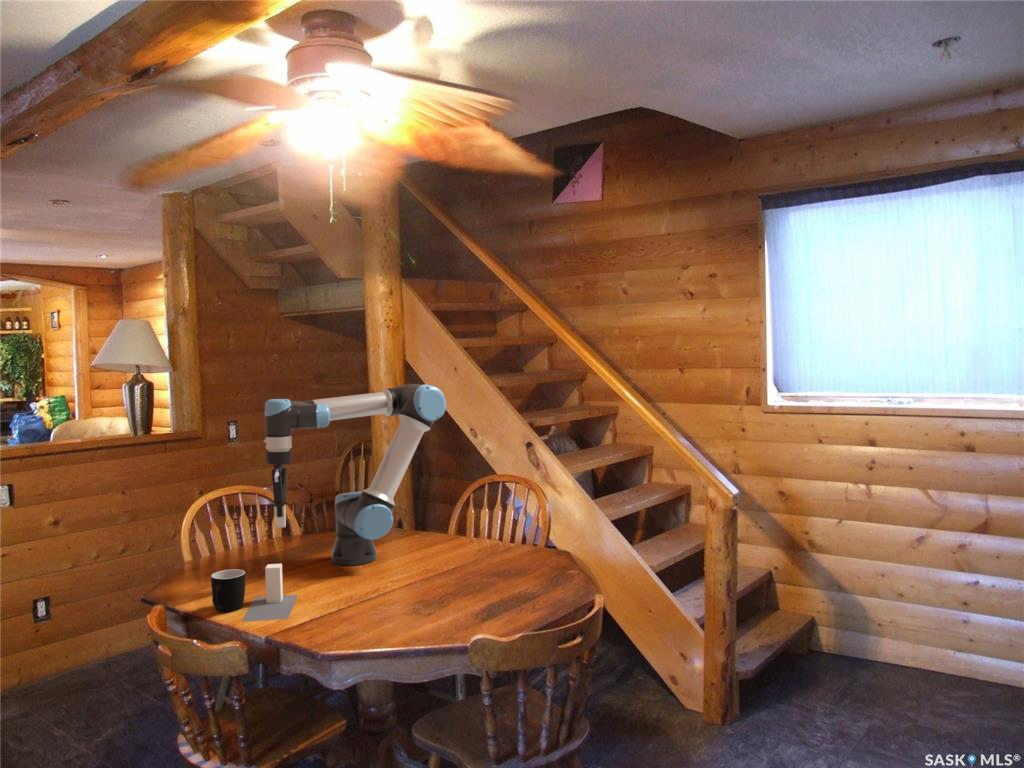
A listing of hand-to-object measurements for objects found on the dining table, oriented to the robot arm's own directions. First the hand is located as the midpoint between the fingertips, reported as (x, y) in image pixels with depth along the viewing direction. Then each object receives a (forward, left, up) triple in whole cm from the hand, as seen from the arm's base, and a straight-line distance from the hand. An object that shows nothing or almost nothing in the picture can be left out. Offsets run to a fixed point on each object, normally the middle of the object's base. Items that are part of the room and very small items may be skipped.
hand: (280, 526), depth 237 cm
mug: (+12, +22, -18) cm, 31 cm away
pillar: (0, +16, -18) cm, 24 cm away
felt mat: (0, +22, -18) cm, 28 cm away
